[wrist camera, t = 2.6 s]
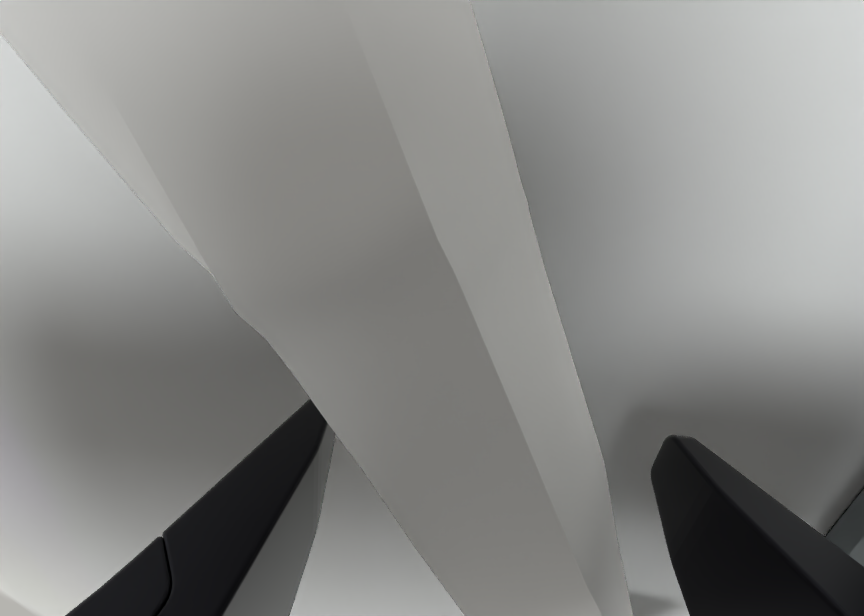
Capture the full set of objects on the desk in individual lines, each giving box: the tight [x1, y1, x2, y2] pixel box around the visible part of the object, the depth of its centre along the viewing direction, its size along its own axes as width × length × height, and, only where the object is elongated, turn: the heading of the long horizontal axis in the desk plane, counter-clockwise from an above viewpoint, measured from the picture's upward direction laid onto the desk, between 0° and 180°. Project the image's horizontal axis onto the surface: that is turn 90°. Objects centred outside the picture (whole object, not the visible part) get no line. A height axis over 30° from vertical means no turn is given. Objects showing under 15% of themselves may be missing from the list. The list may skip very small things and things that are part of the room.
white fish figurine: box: [0, 0, 633, 616], centre depth 8 cm, size 6×18×4 cm, turn 22°
